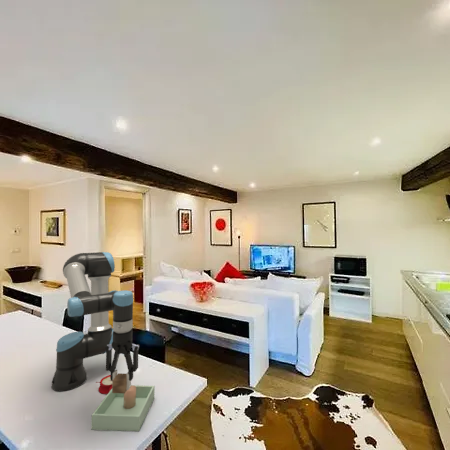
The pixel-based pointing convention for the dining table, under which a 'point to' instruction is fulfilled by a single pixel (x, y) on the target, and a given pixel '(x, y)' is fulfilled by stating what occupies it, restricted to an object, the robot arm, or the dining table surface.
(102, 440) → the dining table surface
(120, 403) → the tray
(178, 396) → the dining table surface
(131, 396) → the terracotta canister
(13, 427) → the dining table surface
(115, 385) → the walnut cube
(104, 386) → the alarm clock
